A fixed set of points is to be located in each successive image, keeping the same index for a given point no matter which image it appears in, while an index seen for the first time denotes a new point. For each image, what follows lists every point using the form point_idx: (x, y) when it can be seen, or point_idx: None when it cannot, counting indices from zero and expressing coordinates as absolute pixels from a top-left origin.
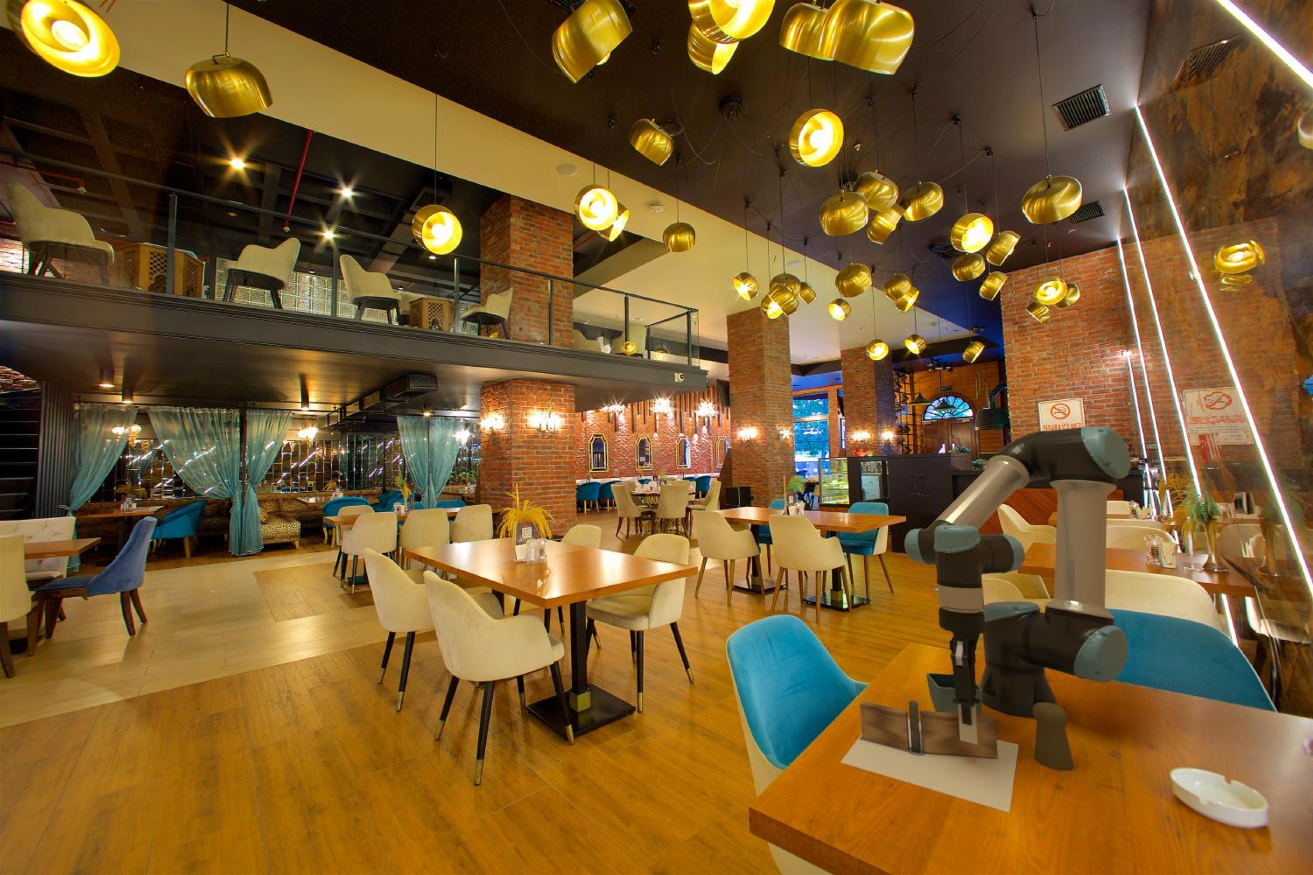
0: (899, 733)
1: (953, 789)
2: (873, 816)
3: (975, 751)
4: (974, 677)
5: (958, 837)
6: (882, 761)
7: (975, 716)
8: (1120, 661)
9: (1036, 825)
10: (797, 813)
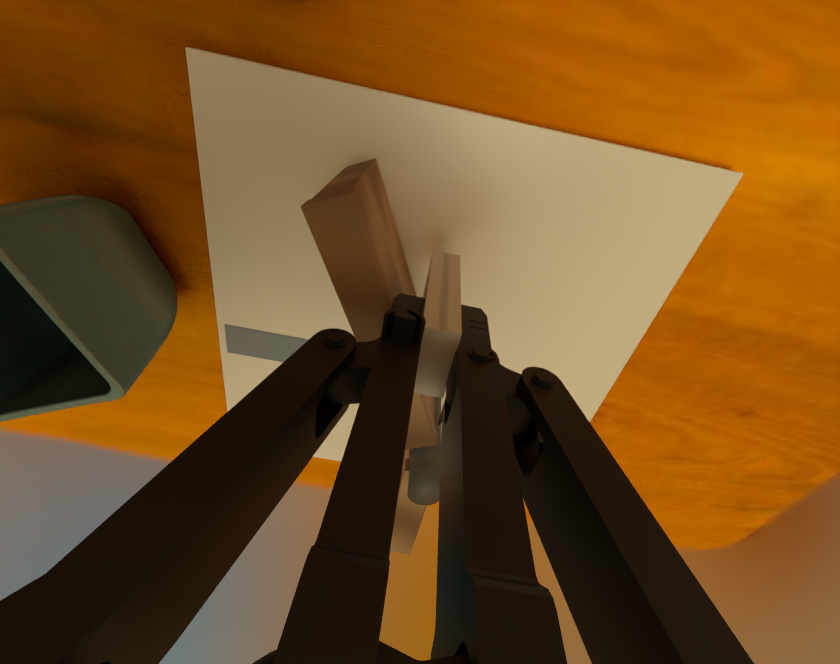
0: None
1: (624, 306)
2: (726, 438)
3: (395, 236)
4: (299, 409)
5: (814, 303)
6: None
7: (455, 305)
8: None
9: (764, 88)
10: (721, 523)
